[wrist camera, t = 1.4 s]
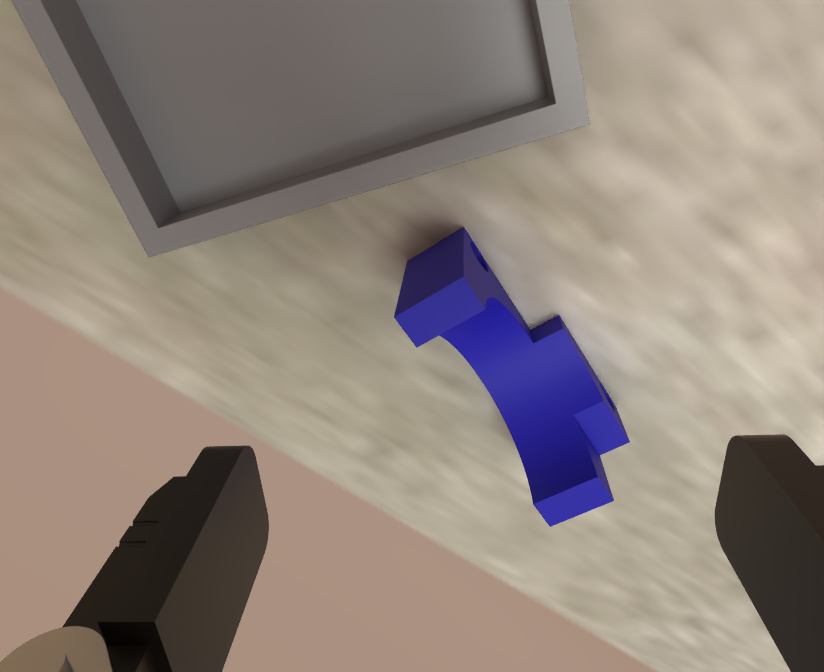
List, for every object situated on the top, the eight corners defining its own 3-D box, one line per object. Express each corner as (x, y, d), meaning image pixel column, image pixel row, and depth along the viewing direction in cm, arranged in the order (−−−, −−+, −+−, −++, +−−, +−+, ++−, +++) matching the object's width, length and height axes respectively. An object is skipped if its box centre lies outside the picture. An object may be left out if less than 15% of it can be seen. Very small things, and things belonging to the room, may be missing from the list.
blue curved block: (615, 405, 30) (647, 486, 25) (535, 441, 31) (549, 526, 26) (493, 207, 26) (500, 254, 21) (407, 260, 27) (394, 317, 22)
